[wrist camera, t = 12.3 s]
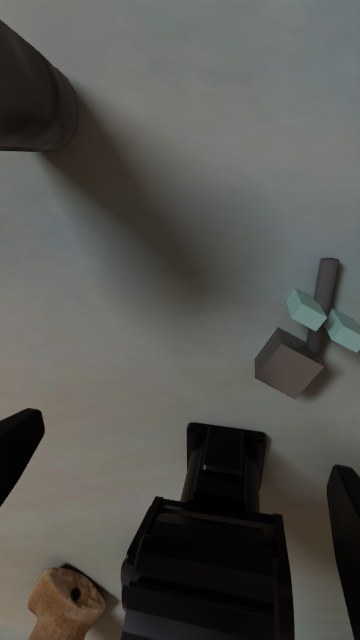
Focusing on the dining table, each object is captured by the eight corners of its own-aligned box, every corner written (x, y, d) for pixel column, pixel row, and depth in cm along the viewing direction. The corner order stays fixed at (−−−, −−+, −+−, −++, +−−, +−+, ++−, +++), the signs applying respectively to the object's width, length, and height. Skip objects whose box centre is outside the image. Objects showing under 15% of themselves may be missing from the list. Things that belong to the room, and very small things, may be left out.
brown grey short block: (291, 378, 22) (295, 399, 20) (254, 359, 22) (255, 377, 20) (316, 348, 20) (324, 366, 18) (277, 327, 20) (281, 343, 18)
